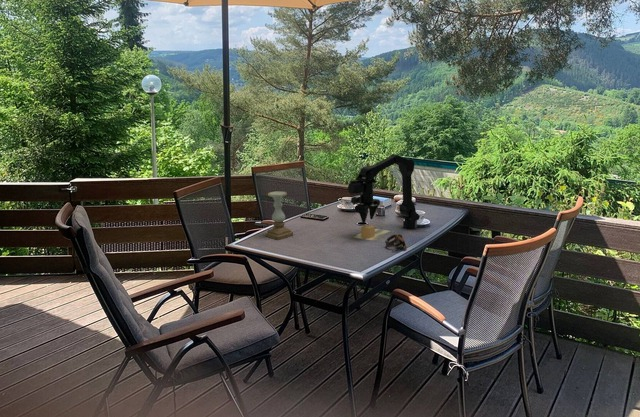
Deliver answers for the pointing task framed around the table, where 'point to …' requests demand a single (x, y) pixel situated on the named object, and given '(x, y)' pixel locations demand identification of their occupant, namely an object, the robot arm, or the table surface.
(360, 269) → the table surface
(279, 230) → the candle holder
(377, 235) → the birch board
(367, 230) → the tan wooden cube
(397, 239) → the brown striped lump
